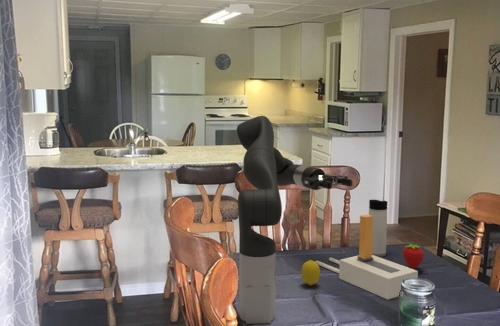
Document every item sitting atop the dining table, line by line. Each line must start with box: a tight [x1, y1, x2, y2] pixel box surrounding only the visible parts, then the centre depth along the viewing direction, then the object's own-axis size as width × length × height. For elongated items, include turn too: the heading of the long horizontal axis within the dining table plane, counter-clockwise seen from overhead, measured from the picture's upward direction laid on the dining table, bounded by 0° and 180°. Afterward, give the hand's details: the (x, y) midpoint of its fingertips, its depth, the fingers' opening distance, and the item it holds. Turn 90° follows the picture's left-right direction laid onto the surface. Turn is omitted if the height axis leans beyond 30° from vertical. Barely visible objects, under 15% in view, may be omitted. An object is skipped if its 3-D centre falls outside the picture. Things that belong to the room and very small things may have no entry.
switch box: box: [338, 254, 419, 301], centre depth 160 cm, size 20×12×6 cm, turn 32°
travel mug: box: [368, 199, 388, 258], centre depth 188 cm, size 6×7×20 cm
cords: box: [314, 257, 340, 274], centre depth 175 cm, size 14×7×1 cm, turn 32°
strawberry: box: [402, 241, 425, 270], centre depth 172 cm, size 6×8×10 cm
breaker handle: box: [357, 214, 373, 261], centre depth 162 cm, size 4×3×14 cm
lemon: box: [301, 259, 321, 287], centre depth 159 cm, size 6×6×8 cm
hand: (341, 184), depth 170 cm, fingers open, 8 cm apart
